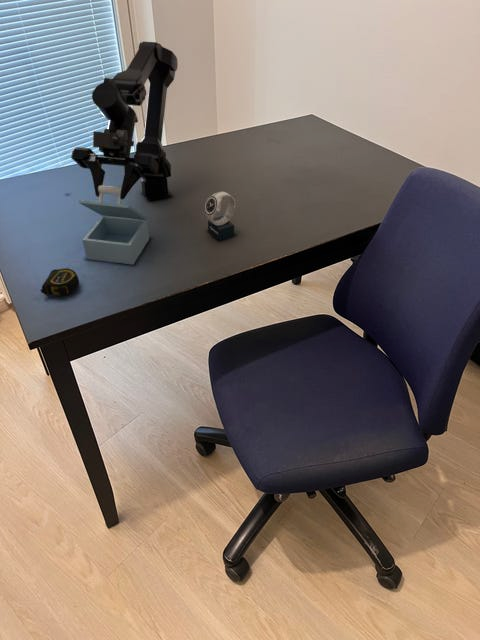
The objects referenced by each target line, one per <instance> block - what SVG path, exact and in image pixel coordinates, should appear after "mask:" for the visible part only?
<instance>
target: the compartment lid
mask: <svg viewBox="0 0 480 640" xmlns="http://www.w3.org/2000/svg"><path fill="white" fill-rule="evenodd" d="M121 188H122V186H112V185H104V184H103V185H99V187H98V192H99V197H98V200H97V201H96V200H95V201H94V200H86V199H79V200H78V203H79V204H80V205H82V206H83V207H85V208H88V209H89V210H91V211H92V212H94V213H97V214H98V215H100V216H101V217H102V216H109V217H119V218H128V219H137V220H146V221H148V220H147V219H148V217H147V216H145V215H143V214H142V213H141V212H139V211H138V210H137V209H136V208H134V207H132V206H130V205H129V204H122V200H123V199H121V198H120V195H121ZM104 195H113V196H117V200H116V203H113V202H105V201H104V202H103V199H104Z"/></svg>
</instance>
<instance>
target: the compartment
mask: <svg viewBox="0 0 480 640" xmlns="http://www.w3.org/2000/svg"><path fill="white" fill-rule="evenodd" d="M149 240H150V235H149V226H148V220H138V219H129V218H120V217H111V216H102V215H101V216H100V218H99V219H98V220H97V221H96V222H95V224H94V225H93V226H92V227H91V229H90V230H89V231H88V232H87V233H86V235H85V236H84V237H83V238H82V245H83V250H84V253H85V256H86V259H87V260H91V261H99V262H107V263H108V262H109V263H116V264H125V265H131V266H132V265H134V264H135V263H136V261H137V260H138V258H139V256H140V255H141V253H142V252H143V249H144V248H145V247H146V246H147V243H148V242H149Z"/></svg>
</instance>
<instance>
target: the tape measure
mask: <svg viewBox="0 0 480 640" xmlns="http://www.w3.org/2000/svg"><path fill="white" fill-rule="evenodd" d="M79 285H80V279H79V276H78V274H77V272H76V271H75V270H73V269H72V268H67V267H65V268H57V269H52V270H50V272H49V275H48V276H47V278H46V279H45V281H44V282H43V284H42V286H41V288H40V292H41V294H44V295H45V296H50V297H51V296H53V295H54V296H56V297H63V296H68V295H71V294H73V293H74V292H75V291H77V290H78V288H79Z"/></svg>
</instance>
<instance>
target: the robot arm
mask: <svg viewBox="0 0 480 640" xmlns="http://www.w3.org/2000/svg"><path fill="white" fill-rule="evenodd" d="M177 71H178V57H177V56H176V53H174V51H172V50H170V49H168V48H166V47H164V46H163V45H162V44H161V43H159V42H156V41H142V42H139V44H138V50H137V51H136V53H135V55H134V56H133V58H132V60H131V61H130V63H129V65H128V66H127V68H126V69H125V70H123V71H119V72H117V73H116V74H115V75H114V76H113V77H104V78H103V82H101V83H99V84H98V85H97V86H96V87H95V88H94V89H93V91H92V93H91V94H92V95H91V99H92V102H93V104H94V105H95V106H96V107H97V109H98V110H99V111H100V113H101V114H102V115H103V117H105V119H106V120H108V125H107V128H105V129H104V130H103V131H93V132H92V147H93V148H98V151H99V152H100V153H102V154H96V153H95V152H94V151H93V150H92V149H91V148H88V147H78V146H76V147H74V148H73V149H72V151H71V155H70V158H71V160H72V161H74V162H75V163H76V164H77V165H78V166H80V168H82V169H86V170H90V174H91V177H92V181H93V187H94V189H93V190H94V194H95V196H96V197H97V198H99V192H98V187H99V185H103V186H104V180H105V175H106V171H105V170H104V169H103V168H102V167H103V165H108V166H118V167H119V166H120V167H123V170H124V175H123V179H122V184H121V187H122V188H121V195H120V198H121V199H122V200H124V199H126V197H127V195H128V194H129V193H130V191H131V190H132V188H133V187H134V186H135V185H136V183H138V181H139V180H140V183H141V193H142V194H143V196H145V198H147V200H148V201H150V202H154V201H158V200H161V199H166V198H170V197H171V196H172V194H171V193H170V192H169V185H168V178H170V177H172V165H171V163H170V161H169V159H168V158H167V152H166V150H165V148H164V146H163V143H162V140H163V130H164V122H165V121H164V120H165V112H166V103H167V102H166V101H167V95H168V93H167V92H168V88H169V87H170V85H172V84H173V82H174V80H175V77H176V72H177ZM147 80H148V82H149V85H148V86H149V87H148V95H147V90H146V86H145V85H146V82H147ZM146 97H147V107H146V114H145V115H146V116H145V125H144V136H143V138H142V139H141V141H137V143H136V144H135V142H134V139H133V138H134V132H135V126H136V123H138V122H139V119H138V116H137V112H136V111H135V110H134V109H133V107H132V106H134V107H135V106H137V107H140V106H142V105H143V104H144V102H145V100H146ZM134 145H135V153H134V155H133V157H131V150H132V147H134ZM141 178H142V179H141Z"/></svg>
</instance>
